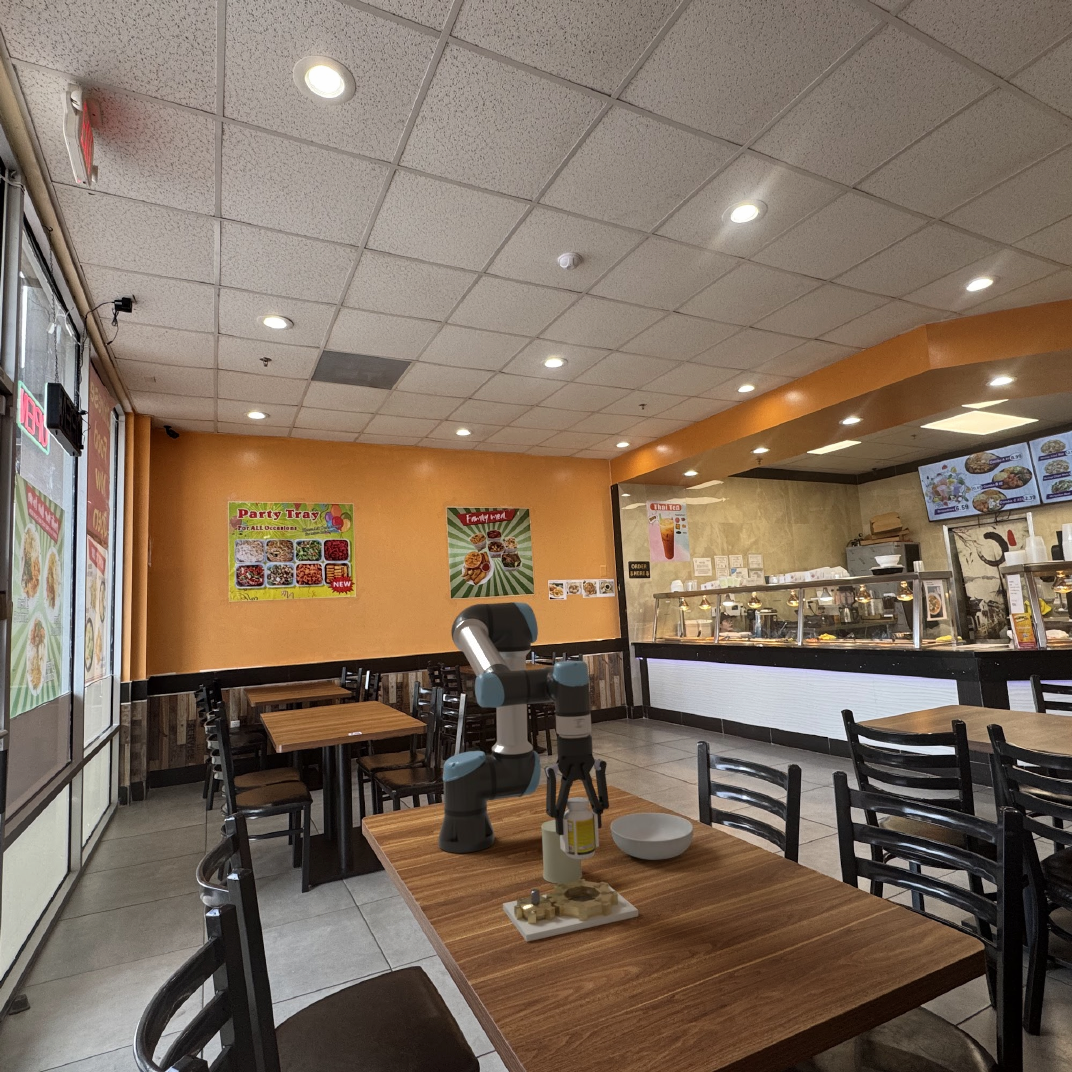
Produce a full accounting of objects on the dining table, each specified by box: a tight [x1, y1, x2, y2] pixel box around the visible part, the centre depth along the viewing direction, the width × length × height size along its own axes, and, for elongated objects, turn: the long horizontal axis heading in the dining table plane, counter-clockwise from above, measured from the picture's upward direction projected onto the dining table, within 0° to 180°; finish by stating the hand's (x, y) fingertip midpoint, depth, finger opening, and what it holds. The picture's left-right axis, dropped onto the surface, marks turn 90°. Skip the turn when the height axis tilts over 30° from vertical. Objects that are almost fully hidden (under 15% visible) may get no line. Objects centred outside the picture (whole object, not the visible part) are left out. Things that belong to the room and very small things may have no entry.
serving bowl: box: [609, 812, 694, 861], centre depth 168 cm, size 21×21×7 cm
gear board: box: [502, 884, 639, 942], centre depth 137 cm, size 15×24×1 cm, turn 110°
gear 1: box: [514, 888, 557, 924], centre depth 135 cm, size 8×9×4 cm
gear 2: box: [545, 878, 619, 921], centre depth 138 cm, size 14×14×2 cm
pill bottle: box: [564, 796, 596, 860], centre depth 140 cm, size 6×6×11 cm
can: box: [541, 819, 583, 885], centre depth 156 cm, size 9×9×12 cm
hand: (579, 847), depth 139 cm, fingers closed on pill bottle, 6 cm apart
